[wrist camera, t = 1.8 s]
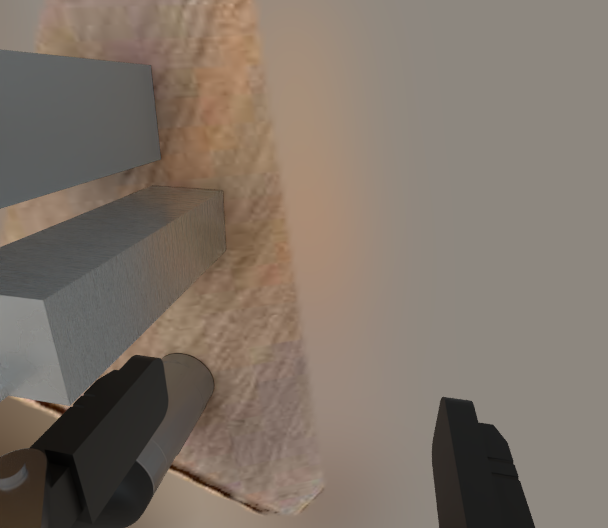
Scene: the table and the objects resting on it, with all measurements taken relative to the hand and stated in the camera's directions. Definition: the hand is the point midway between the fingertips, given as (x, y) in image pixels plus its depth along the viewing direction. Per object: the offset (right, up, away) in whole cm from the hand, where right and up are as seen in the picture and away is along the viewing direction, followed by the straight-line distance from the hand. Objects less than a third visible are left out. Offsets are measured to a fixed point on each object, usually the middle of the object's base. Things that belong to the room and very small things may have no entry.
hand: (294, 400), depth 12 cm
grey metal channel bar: (-14, +9, +39) cm, 43 cm away
